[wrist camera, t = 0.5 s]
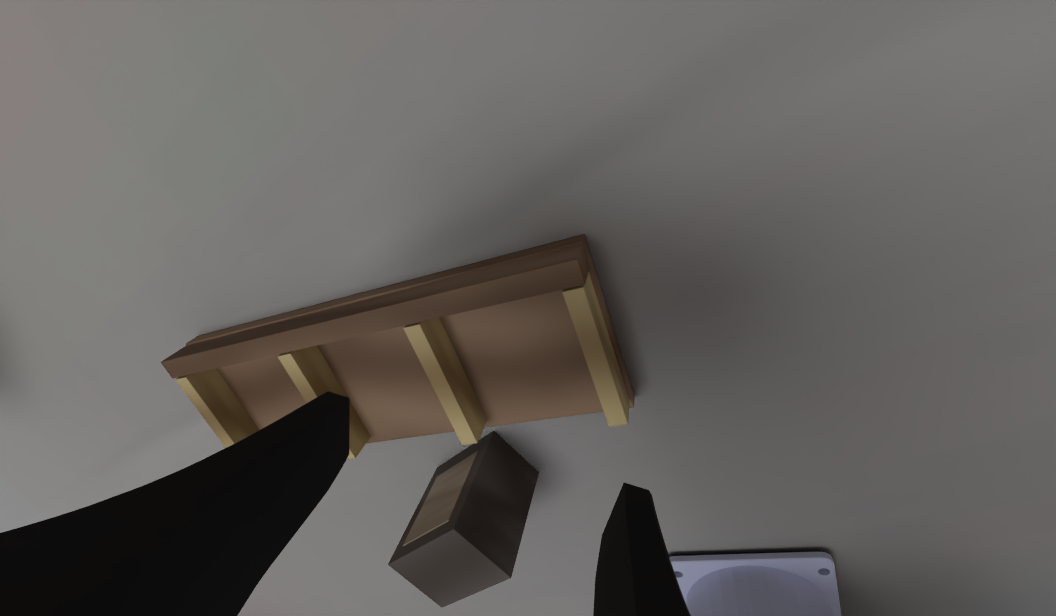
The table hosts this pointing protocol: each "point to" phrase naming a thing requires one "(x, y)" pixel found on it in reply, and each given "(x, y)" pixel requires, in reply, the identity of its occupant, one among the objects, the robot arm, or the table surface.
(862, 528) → the table surface
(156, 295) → the table surface
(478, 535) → the black box
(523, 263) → the rack
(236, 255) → the table surface
